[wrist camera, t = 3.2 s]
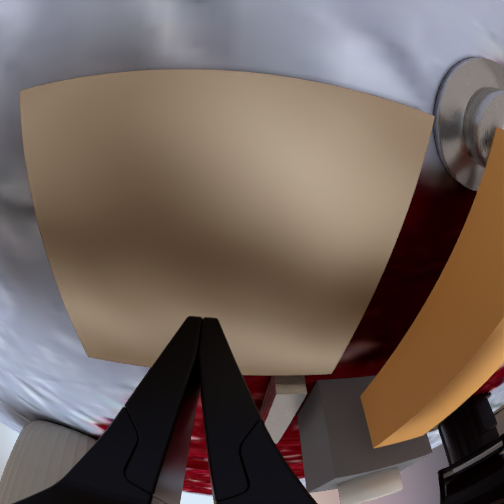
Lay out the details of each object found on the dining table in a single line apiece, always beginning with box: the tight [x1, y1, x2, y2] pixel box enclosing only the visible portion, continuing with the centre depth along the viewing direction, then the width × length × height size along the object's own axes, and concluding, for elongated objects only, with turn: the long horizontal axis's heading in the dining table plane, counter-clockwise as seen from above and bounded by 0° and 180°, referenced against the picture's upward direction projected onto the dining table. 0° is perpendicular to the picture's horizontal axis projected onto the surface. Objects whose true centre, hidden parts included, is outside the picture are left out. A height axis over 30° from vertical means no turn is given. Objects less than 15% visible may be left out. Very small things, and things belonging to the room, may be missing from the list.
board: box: [20, 69, 435, 375], centre depth 10 cm, size 12×12×1 cm
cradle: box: [259, 58, 504, 443], centre depth 12 cm, size 24×12×2 cm, turn 174°
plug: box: [297, 375, 432, 504], centre depth 14 cm, size 5×6×8 cm
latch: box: [360, 127, 504, 448], centre depth 7 cm, size 14×3×4 cm, turn 174°
